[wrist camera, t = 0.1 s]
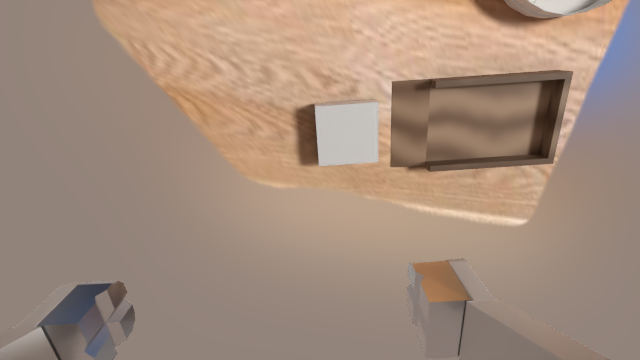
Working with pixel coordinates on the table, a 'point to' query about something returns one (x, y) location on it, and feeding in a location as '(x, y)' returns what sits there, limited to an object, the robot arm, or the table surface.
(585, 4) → the dish
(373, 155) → the grey square tile
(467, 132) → the dock
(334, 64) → the table surface
